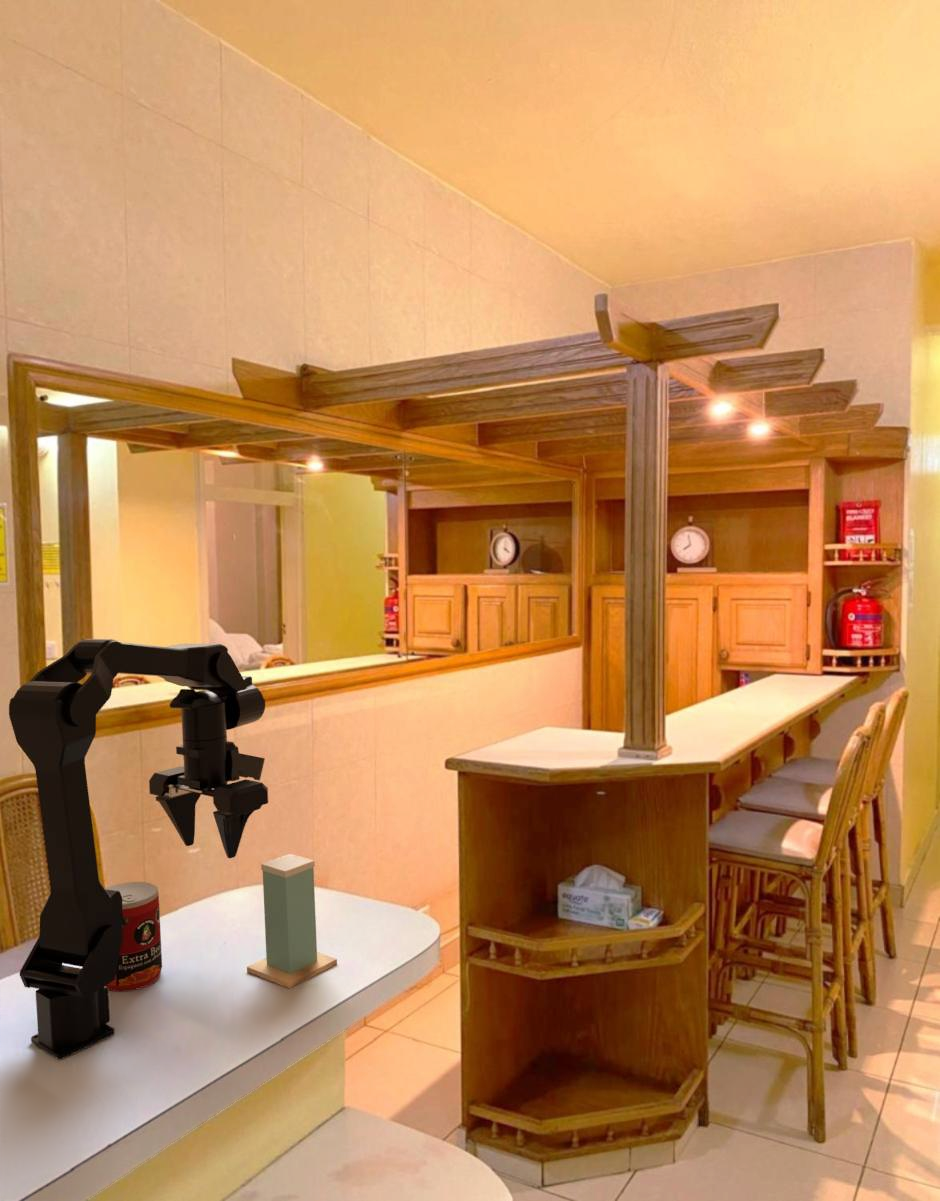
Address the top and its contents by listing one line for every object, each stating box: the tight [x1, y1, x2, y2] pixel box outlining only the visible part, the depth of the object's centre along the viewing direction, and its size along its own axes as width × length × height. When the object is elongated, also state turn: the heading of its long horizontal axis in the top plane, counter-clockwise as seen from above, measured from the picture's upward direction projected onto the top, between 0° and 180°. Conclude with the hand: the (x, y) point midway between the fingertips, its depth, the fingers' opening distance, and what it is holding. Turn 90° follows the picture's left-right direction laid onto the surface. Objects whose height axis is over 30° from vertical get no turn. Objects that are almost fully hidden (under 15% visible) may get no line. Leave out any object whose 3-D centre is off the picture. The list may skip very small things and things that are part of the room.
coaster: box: [246, 951, 338, 989], centre depth 117 cm, size 8×8×1 cm
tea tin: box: [260, 853, 318, 974], centre depth 117 cm, size 5×5×13 cm
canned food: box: [104, 881, 163, 992], centre depth 115 cm, size 8×8×11 cm
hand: (210, 851), depth 124 cm, fingers open, 9 cm apart
